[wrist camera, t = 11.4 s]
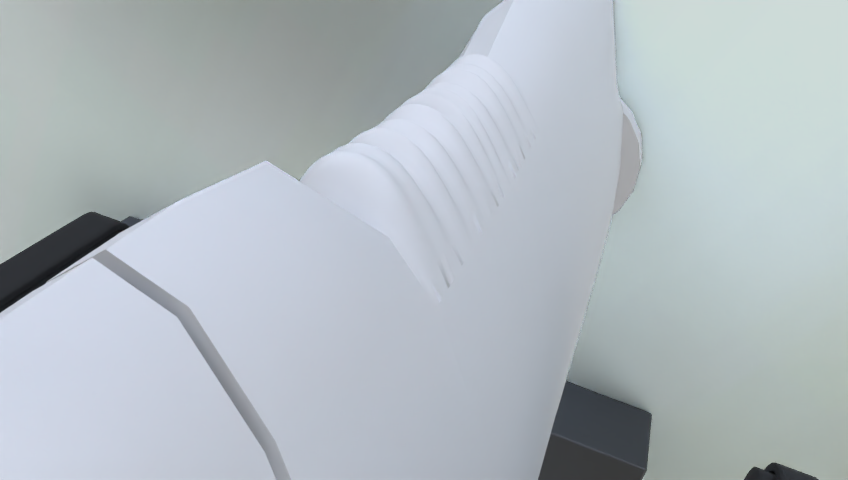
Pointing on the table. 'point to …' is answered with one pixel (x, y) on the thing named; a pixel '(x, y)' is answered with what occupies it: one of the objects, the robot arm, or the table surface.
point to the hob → (590, 436)
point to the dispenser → (348, 290)
